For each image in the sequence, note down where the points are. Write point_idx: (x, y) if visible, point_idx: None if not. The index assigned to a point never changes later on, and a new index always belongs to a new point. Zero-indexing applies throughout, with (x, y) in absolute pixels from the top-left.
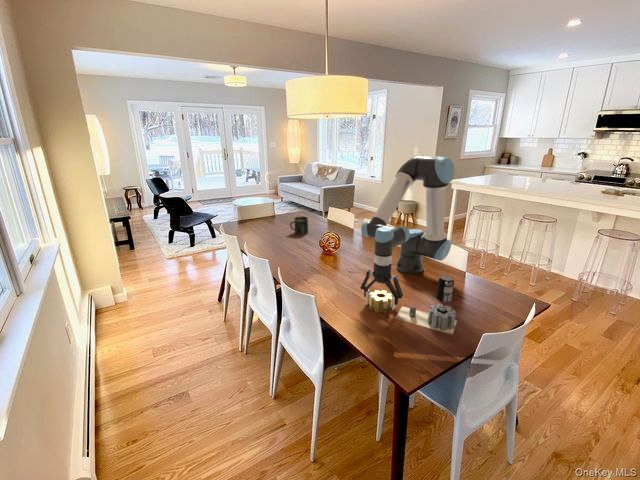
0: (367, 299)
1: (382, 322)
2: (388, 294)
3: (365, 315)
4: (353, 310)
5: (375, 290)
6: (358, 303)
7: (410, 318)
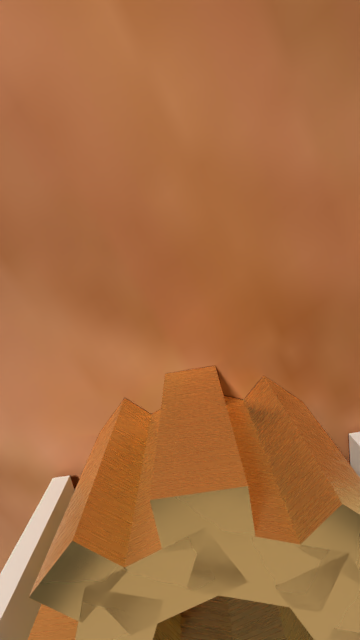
0: None
1: None
2: (338, 571)
3: None
4: None
5: (40, 580)
6: (3, 535)
7: None
